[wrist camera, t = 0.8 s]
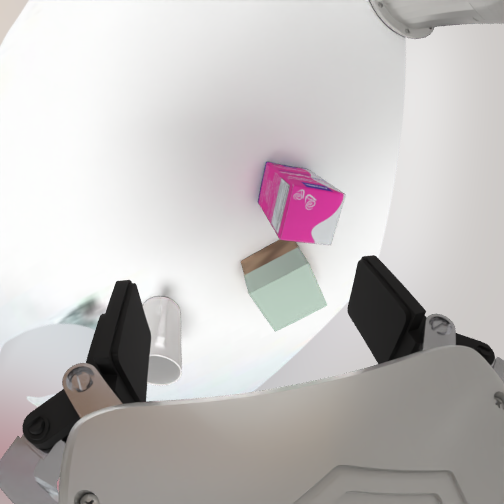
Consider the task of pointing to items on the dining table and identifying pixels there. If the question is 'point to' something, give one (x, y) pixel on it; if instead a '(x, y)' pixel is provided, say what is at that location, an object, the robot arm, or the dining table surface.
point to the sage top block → (285, 289)
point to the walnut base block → (267, 255)
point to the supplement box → (300, 204)
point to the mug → (164, 340)
